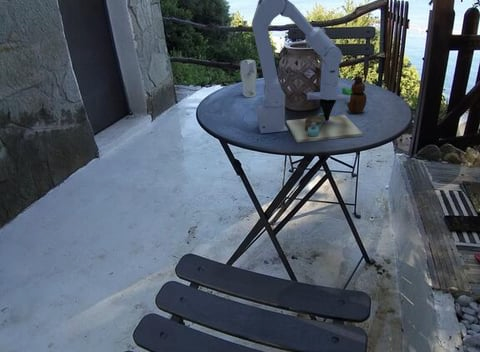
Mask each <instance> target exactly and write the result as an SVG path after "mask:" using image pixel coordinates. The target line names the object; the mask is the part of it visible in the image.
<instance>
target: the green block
mask: <svg viewBox="0 0 480 352" xmlns="http://www.w3.org/2000/svg"><path fill="white" fill-rule="evenodd" d="M341 90H342V92H341V94H344V95H350V94H351V93H353V92H352V91H351V89H348V88H346V87H342V89H341ZM345 103H346V104H347V102H345Z"/></svg>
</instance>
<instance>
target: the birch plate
mask: <svg viewBox="0 0 480 352" xmlns="http://www.w3.org/2000/svg"><path fill="white" fill-rule="evenodd" d="M305 120H306V118H301V119H300V118H299V119H289V120H285V125H286V126H287V128H288V130H289V131H290V133H291V135H292V136H293V138H294V140H295V141H296V143H306V142H307V143H308V142H316V141H317V142H318V141H327V140H337V139H347V138H357V137H359V138H360V137H363V132H362V131H361V130H360V129H359V128H358V127H357V126H356V125H355V124H354V123H353V121H352V120H350V119H349V118H348V117H347V116H346V114H342V115H330V117H329V120H328V121H325V118H324V122H323V123H322V125H321V127H320V129H319V135H318V136H309V135H308V131H307V130H305Z"/></svg>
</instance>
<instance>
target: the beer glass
mask: <svg viewBox="0 0 480 352" xmlns="http://www.w3.org/2000/svg"><path fill="white" fill-rule="evenodd" d="M256 62H257V61H256V60H255V59H243V60H241V61H240V64H239V65H240V78H241V82H242V89H243V90H242V96H243V95H244V96H246V97H245V98H255V97H256V96H257V91H256V81H257V63H256ZM244 96H243V97H244Z"/></svg>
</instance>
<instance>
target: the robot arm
mask: <svg viewBox="0 0 480 352" xmlns="http://www.w3.org/2000/svg"><path fill="white" fill-rule="evenodd" d="M253 15H254V16H253V17H252V21H251V27H252V31H253V36H254V40H255V45H256V49H257V53H258V58H259V62H260V67H261V72H262V77H263V81H264V87H263V94H264V96H265V100H264V101H263V104H261V105H258V106H257V126H258V130H259V132H260V134H267V133H268V134H270V133H280V132H288V131H289V128H288V126H287V125H286V119H285V118H286V117H285V113H286V110H285V106H286V105H285V104H286V102H285V101H286V94H285V93H284V91H283V89H282V86H281V84H280V80H279V76H278V73H277V67H276V63H275V62H276V61H275V56H274V53H273V52H274V51H273V48H272V43H271V38H270V37H271V36H270V34H269V26H270V24H271V23H272V22H273V20H274V19H275V18H277V17H278V16H279V15H280V16H282V17H283V18H284V17H285V18H288V19H290V20H291V21H292V22H293V24H295V25H296V27H298V28H299V29H300V30H301V31H302V32H303V33H304V35H305V42H306V44H308V45H309V47H311V48H312V49H313V50H314V52H315V53H316V54H317V55H319V58H320V59H322V61H321V72H320V91H319V92H318V91H317V92H316V91H315V92H307V94H306V100H319V106H320V108H321V109H322V113H323V114H324V118H325V121H328V120H329V117H330V116H331V113H332V110H333V108H334V106H335V104H336V103H337V102H345V103H346V102H348V103H349V102H350V96H351V95H344V94H342V93H339V92H338V90H339V89H338V88H339V87H338V86H339V74H340V63H342V61H343V58H344V56H343V52H342V51H341V49H340V48H339V47H338V46H336V44H335V43H336V41H334V40H333V39H331V38H330V37H329V36H328V35H327V34H326V29H324V28H323V27H322V28H321V27H320V26H313V25H312V24H311V23H310V21H308V19H307V18H306V17H305V16H304V15H303V13H301V11H300V10H299V9H298V7H297V6H295V5H294V3H292V1H290V0H258V1H257V5H256V9H255V11H254V14H253Z"/></svg>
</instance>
